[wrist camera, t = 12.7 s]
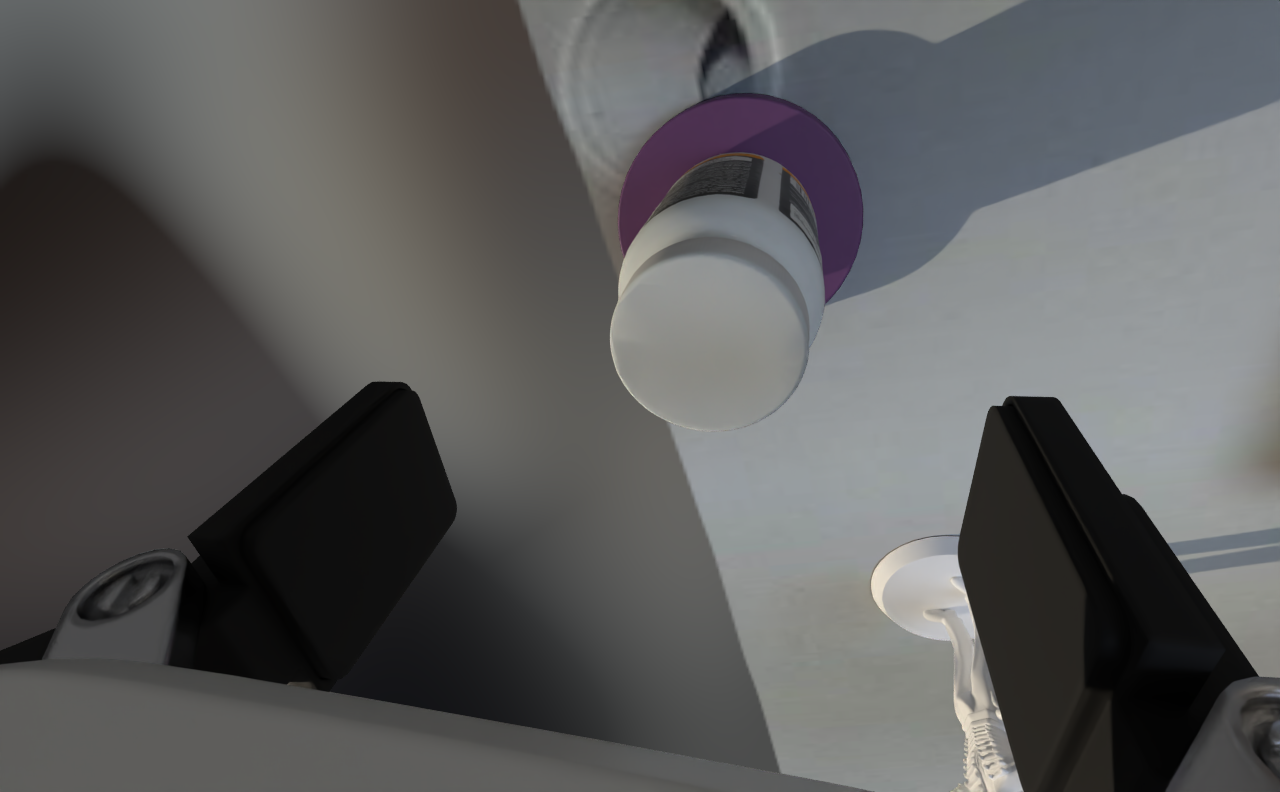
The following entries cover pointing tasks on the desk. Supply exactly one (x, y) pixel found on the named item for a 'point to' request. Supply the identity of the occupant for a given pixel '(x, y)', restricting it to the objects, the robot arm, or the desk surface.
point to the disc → (762, 132)
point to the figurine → (939, 609)
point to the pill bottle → (720, 296)
